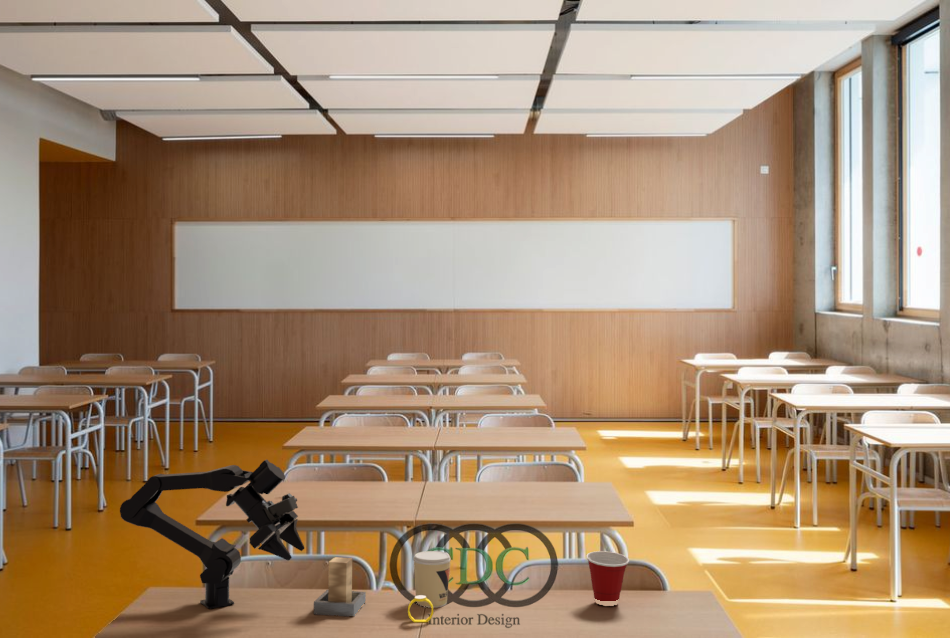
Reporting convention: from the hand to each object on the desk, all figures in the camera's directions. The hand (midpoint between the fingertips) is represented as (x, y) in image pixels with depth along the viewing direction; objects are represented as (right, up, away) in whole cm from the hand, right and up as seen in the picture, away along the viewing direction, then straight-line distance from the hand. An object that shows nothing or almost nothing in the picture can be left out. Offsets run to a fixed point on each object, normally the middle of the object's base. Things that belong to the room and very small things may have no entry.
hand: (296, 554), depth 215 cm
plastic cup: (+77, -14, +6) cm, 79 cm away
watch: (+31, -14, -9) cm, 35 cm away
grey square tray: (+11, -13, 0) cm, 17 cm away
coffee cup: (+33, -14, +5) cm, 36 cm away
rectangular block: (+11, -13, -1) cm, 17 cm away
